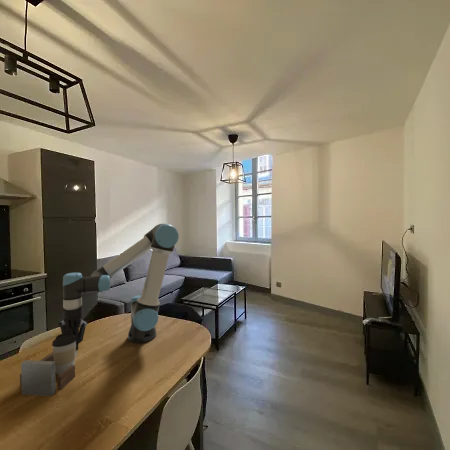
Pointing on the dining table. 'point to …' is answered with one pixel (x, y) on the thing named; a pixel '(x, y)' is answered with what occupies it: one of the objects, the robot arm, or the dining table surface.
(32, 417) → the dining table surface
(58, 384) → the walnut shelf wall
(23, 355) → the dining table surface
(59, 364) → the coffee cup
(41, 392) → the grey bookend
